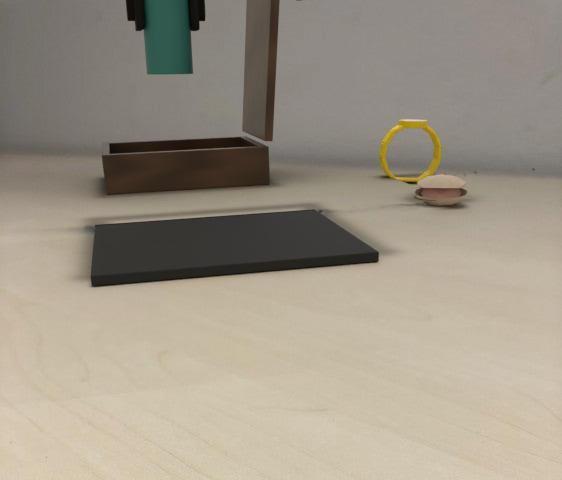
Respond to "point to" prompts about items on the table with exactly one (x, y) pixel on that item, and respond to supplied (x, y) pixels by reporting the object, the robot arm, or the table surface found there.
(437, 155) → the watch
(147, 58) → the bottle
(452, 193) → the macaroon
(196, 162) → the brown wooden tray
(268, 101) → the lid
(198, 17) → the robot arm
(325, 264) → the mat
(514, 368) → the table surface
